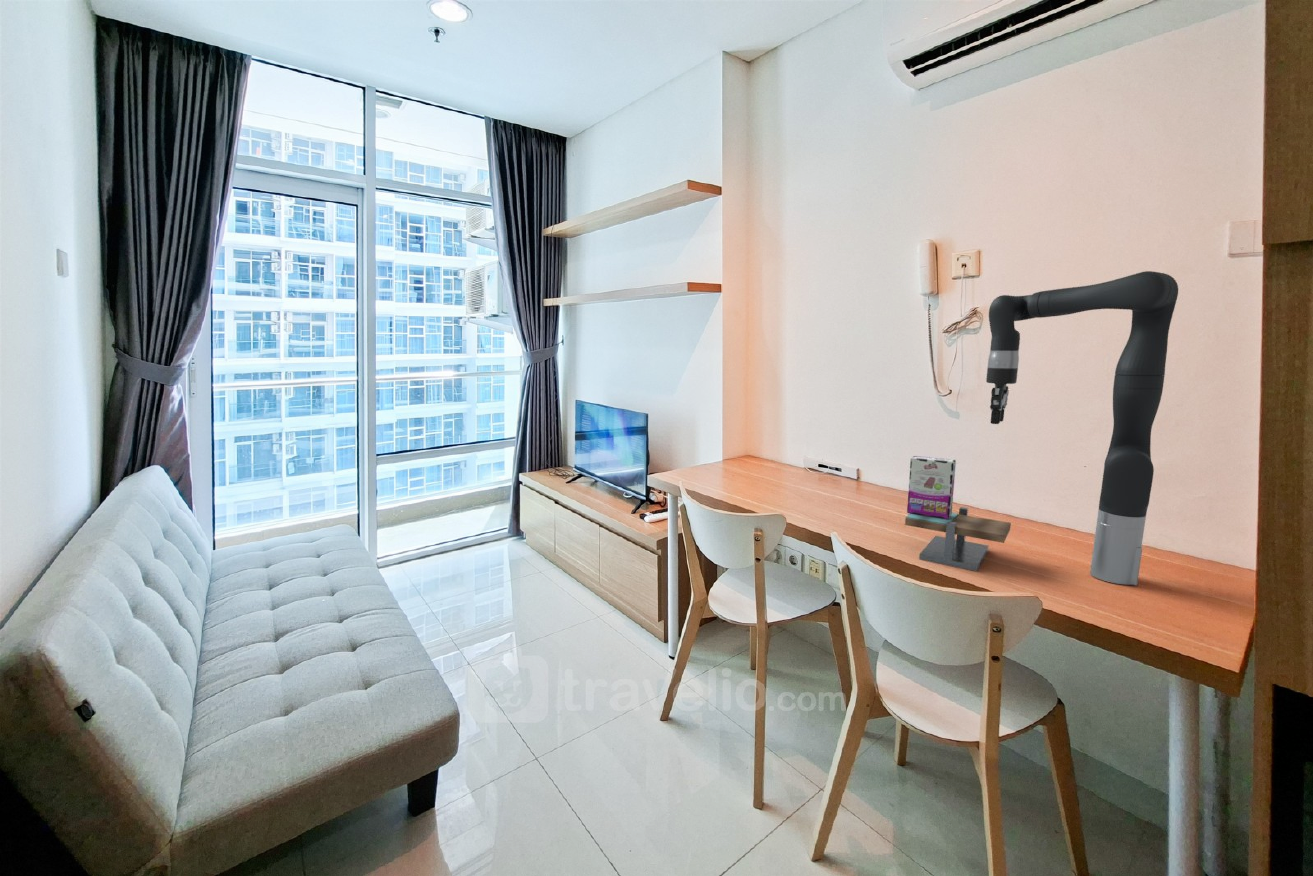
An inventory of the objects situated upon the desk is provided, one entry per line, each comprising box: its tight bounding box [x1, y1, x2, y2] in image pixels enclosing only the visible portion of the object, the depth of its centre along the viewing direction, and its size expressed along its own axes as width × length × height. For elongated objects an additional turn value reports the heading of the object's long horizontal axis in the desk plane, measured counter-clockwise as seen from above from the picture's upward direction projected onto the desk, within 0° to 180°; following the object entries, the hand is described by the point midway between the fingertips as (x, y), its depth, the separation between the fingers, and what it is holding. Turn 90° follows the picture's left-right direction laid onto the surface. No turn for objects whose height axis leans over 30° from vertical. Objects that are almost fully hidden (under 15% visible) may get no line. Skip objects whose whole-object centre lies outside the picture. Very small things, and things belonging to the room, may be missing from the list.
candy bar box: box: [906, 455, 957, 519], centre depth 161 cm, size 11×5×16 cm, turn 55°
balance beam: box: [904, 512, 1012, 544], centre depth 158 cm, size 24×15×2 cm, turn 53°
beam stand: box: [918, 506, 989, 572], centre depth 158 cm, size 14×20×12 cm
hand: (996, 422), depth 165 cm, fingers open, 8 cm apart
